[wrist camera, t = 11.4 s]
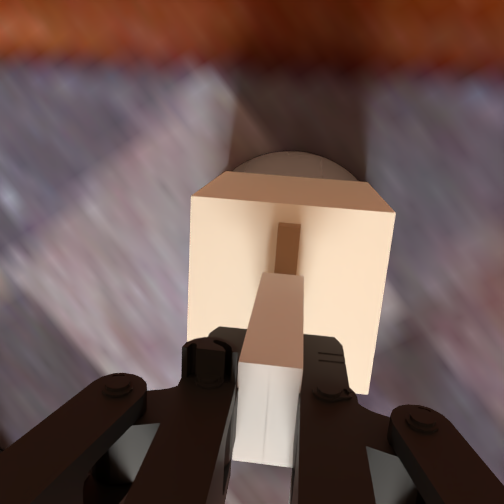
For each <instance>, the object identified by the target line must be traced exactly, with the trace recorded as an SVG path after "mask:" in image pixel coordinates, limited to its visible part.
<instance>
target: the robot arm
mask: <svg viewBox="0 0 504 504" xmlns="http://www.w3.org/2000/svg"><path fill="white" fill-rule="evenodd" d="M303 326H304V276H299V275H288V274H278V273H267V272H262V276H261V280H260V283H259V287H258V291H257V295H256V298H255V302H254V306H253V309H252V313H251V317H250V321H249V324H248V328H247V329H241V328H232V327H222V326H219V327H217V328H216V329H214V330H213V331H212V332H210V333H209V335H208V337H202V338H196V339H193V340H190V341H188V342H186V343H185V344H184V345H183V347H182V378H181V380H180V382H179V384H178V386H176V387H172V388H169V389H162V390H151V391H147V384H146V382H145V381H144V380H143V379H142V378H141V377H139V376H136V375H134V374H127V373H114V374H110V375H107V376H103V377H101V378H99V379H97V380H95V381H93V382H92V383H91V384H90V385H88V386H87V387H86V388H84V389H83V390H82V391H81V392H79V393H78V394H77V395H75V396H74V397H73V398H71V399H70V400H69V401H68V402H66V403H65V404H64V405H62V406H61V407H60V408H59V409H57V410H56V411H55V412H53V413H52V414H51V415H50V416H48V417H47V418H46V419H44V420H43V421H42V422H40V423H39V424H38V425H37V426H35V427H34V428H33V429H31V430H30V431H29V432H28V433H26V434H25V435H24V436H22V437H21V438H20V439H19V440H17V441H16V442H15V443H13V444H12V445H11V446H9V447H8V448H7V449H6V450H4V451H3V452H2V451H1V450H0V504H225V499H226V494H227V489H228V484H229V479H230V471H231V457H232V452H233V457H232V460H236V461H244V462H252V463H260V464H268V465H275V466H283V467H291V468H292V476H291V485H290V495H289V504H504V485H503V484H502V483H501V482H500V481H499V479H498V478H497V477H496V476H495V475H494V474H493V472H492V471H491V470H490V469H489V468H488V466H487V465H486V464H485V463H484V462H483V460H482V459H481V458H480V457H479V456H478V454H477V453H476V452H475V451H474V450H473V448H472V447H471V446H470V445H469V444H468V442H467V441H466V440H465V439H464V438H463V436H462V435H461V434H460V433H459V432H458V430H457V429H456V428H455V427H454V426H453V424H452V423H451V422H450V421H449V420H448V419H447V418H445V417H444V416H443V415H442V414H440V413H438V412H436V411H434V410H432V409H430V408H428V407H424V406H420V405H409V404H408V405H402V406H398V407H397V408H395V409H393V410H392V413H391V416H390V417H387V416H384V415H381V414H377V413H375V412H372V411H370V410H368V409H366V408H364V407H362V406H361V405H360V404H358V400H357V396H356V394H355V392H354V391H353V390H352V389H351V388H349V382H348V375H347V369H346V364H345V357H344V351H343V346H342V344H341V343H340V342H339V341H338V340H337V339H336V338H335V337H329V336H320V335H310V334H303Z"/></svg>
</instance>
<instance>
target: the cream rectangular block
mask: <svg viewBox="0 0 504 504" xmlns="http://www.w3.org/2000/svg"><path fill="white" fill-rule="evenodd" d="M395 214H396V213H395V212H394V211H393V210H392V208H391V207H390V206H389V205H388V204H387V203H386V202H385V201H384V200H383V199H382V198H381V196H380V195H379V194H378V193H377V192H376V191H375V190H374V189H373V188H372V187H371V186H370V184H369V183H368V182H358V181H345V180H333V179H320V178H307V177H294V176H282V175H269V174H256V173H243V172H230V171H225V172H224V173H222V174H221V175H220V176H218V177H217V178H215V179H214V180H213V181H211V182H210V183H208V184H207V185H206V186H204V187H203V188H201V189H200V190H199V191H197V192H196V193H195V194H193V195H192V196H191V217H190V253H189V288H188V323H187V342H188V341H190V340H193V339H196V338H202V337H208V335H209V333H210V332H212V331H213V330H214V329H216V328H217V327H219V326H222V327H232V328H241V329H247V328H248V324H249V321H250V317H251V313H252V309H253V306H254V302H255V298H256V295H257V291H258V287H259V283H260V280H261V276H262V272H267V273H278V274H288V275H299V276H304V326H303V334H310V335H320V336H329V337H335V338H336V339H337V340H338V341H339V342H340V343H341V344H342V346H343V351H344V357H345V364H346V369H347V375H348V382H349V388H351V389H352V390H353V391H354V392H355V393H357V394H366V395H368V391H369V384H370V378H371V371H372V365H373V358H374V352H375V345H376V339H377V332H378V326H379V319H380V312H381V306H382V299H383V293H384V286H385V280H386V273H387V267H388V260H389V254H390V247H391V240H392V234H393V227H394V221H395Z"/></svg>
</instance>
